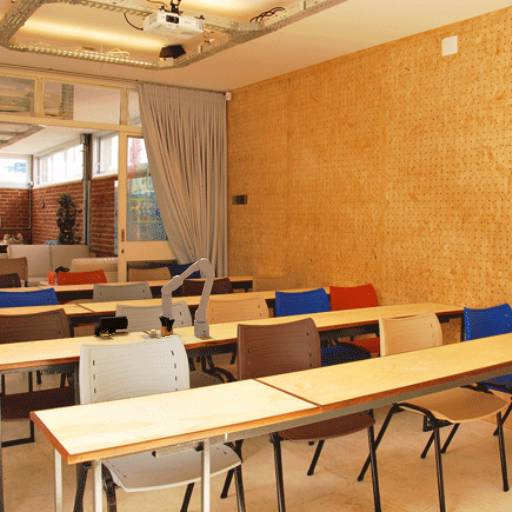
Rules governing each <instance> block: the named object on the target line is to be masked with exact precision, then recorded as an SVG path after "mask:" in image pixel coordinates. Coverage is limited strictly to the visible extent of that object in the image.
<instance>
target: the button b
mask: <svg viewBox="0 0 512 512" xmlns="http://www.w3.org/2000/svg"><path fill="white" fill-rule="evenodd" d="M149 333H151V334H156V333H157V330H156V329H150V332H149Z"/></svg>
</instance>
